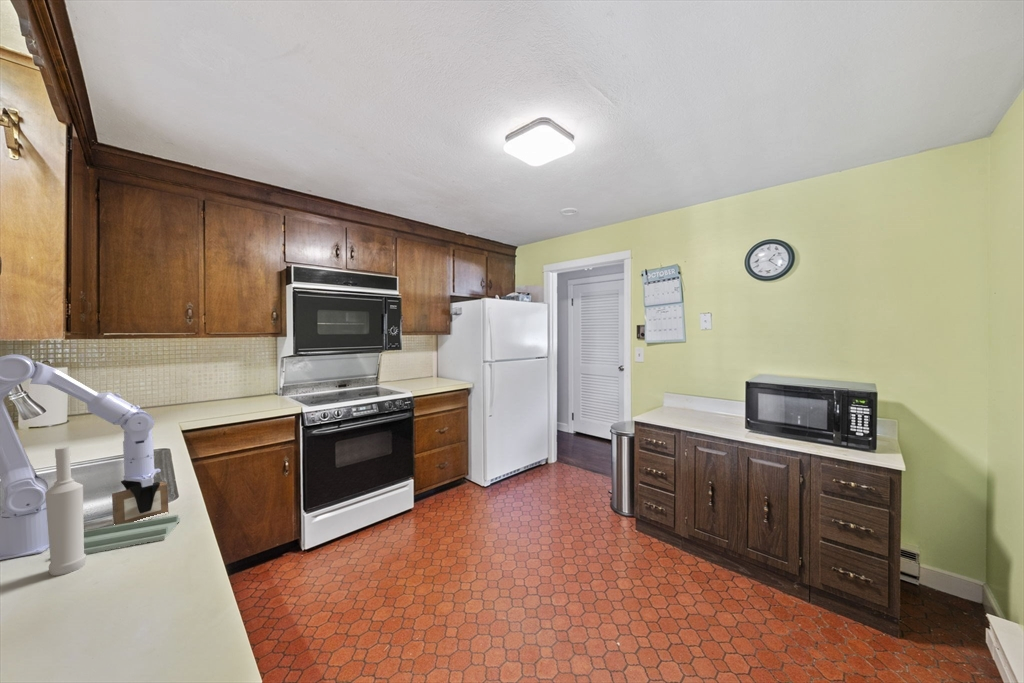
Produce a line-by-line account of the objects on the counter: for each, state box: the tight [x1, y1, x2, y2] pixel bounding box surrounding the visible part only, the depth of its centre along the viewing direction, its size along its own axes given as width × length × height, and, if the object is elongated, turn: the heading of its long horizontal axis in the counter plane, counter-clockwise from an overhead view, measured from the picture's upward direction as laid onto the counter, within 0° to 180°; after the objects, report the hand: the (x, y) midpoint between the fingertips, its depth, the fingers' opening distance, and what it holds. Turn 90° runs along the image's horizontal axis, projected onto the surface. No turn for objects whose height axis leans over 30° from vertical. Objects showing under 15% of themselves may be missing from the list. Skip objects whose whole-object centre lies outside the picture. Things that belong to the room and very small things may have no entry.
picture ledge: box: [84, 514, 181, 555], centre depth 94 cm, size 18×10×2 cm, turn 114°
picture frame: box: [111, 481, 169, 525], centre depth 104 cm, size 10×4×8 cm, turn 144°
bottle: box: [45, 445, 87, 577], centre depth 82 cm, size 5×5×25 cm
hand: (141, 508), depth 104 cm, fingers open, 7 cm apart
